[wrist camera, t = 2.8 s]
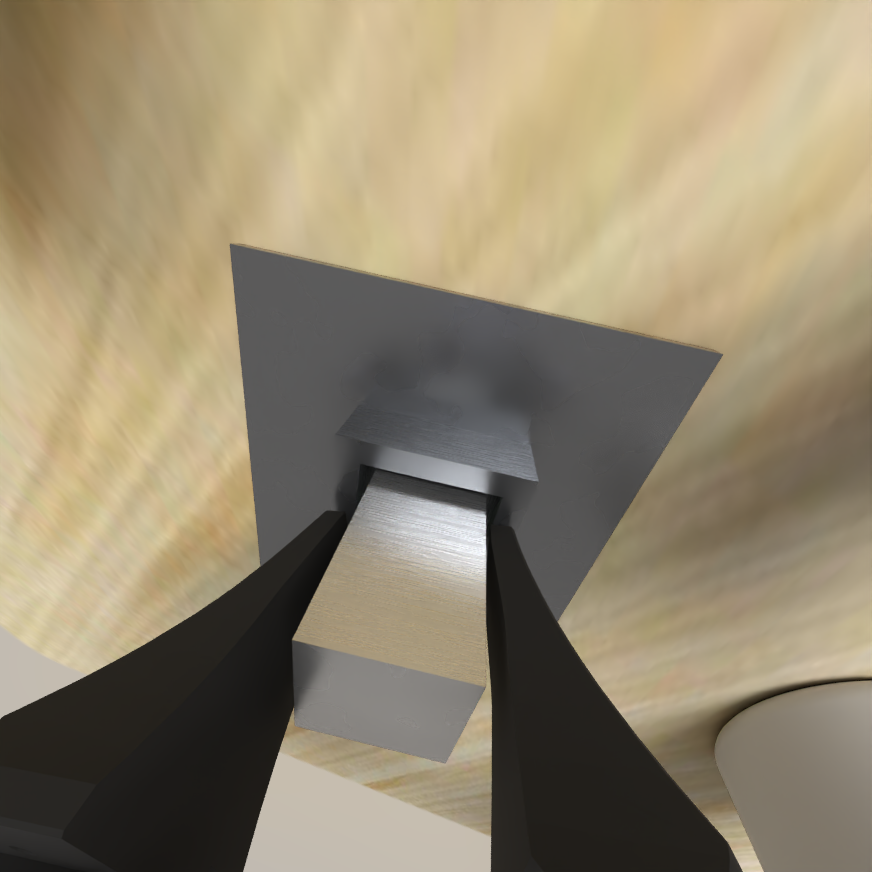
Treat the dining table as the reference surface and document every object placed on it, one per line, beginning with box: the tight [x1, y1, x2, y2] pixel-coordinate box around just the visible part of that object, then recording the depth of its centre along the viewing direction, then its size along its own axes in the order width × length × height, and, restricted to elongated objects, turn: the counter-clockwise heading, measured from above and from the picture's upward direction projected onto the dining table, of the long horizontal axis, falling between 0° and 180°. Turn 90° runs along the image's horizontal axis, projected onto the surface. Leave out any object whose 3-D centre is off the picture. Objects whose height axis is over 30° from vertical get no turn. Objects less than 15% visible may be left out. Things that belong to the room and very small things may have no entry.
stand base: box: [230, 244, 723, 621], centre depth 12 cm, size 14×14×3 cm
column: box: [292, 468, 486, 763], centre depth 10 cm, size 4×4×7 cm
